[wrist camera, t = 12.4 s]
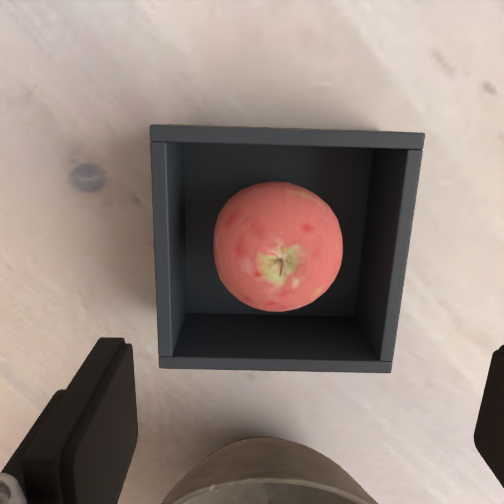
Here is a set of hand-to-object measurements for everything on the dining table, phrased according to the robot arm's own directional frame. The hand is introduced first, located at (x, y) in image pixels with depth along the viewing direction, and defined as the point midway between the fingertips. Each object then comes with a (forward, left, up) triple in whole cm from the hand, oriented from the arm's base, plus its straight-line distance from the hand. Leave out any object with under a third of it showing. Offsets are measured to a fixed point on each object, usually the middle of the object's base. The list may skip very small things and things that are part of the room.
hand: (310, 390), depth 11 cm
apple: (0, 0, -18) cm, 18 cm away
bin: (0, 0, -19) cm, 19 cm away
